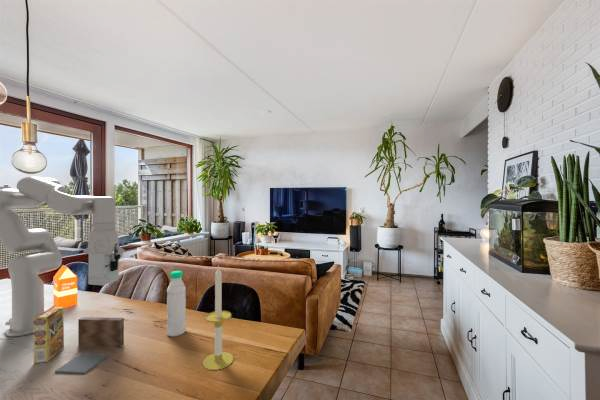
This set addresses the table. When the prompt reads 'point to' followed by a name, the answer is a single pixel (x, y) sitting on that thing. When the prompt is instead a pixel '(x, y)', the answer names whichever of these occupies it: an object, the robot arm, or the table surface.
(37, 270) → the robot arm
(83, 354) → the mat
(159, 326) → the table surface
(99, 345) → the walnut screen
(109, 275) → the supplement box
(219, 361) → the candle
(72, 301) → the orange juice
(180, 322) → the water bottle
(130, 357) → the table surface
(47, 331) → the candy box
